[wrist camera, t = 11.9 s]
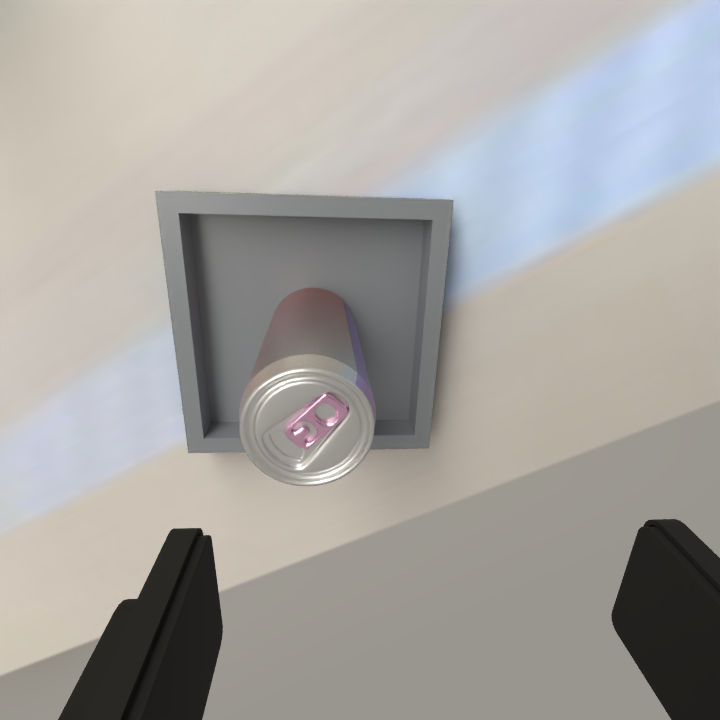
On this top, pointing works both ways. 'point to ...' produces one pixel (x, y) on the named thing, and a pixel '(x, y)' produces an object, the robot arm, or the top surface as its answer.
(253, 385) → the beverage can
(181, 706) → the robot arm
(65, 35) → the top surface
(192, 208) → the tray
